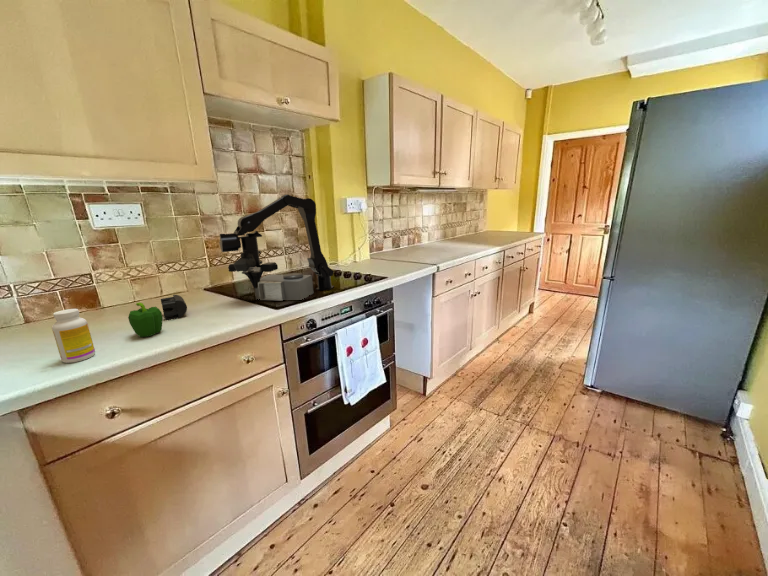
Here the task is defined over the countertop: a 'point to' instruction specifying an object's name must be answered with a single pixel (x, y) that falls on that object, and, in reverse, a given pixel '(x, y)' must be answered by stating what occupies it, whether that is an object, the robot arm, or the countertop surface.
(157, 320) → the bell pepper
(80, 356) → the supplement bottle
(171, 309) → the end cap
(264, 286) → the side door
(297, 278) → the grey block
